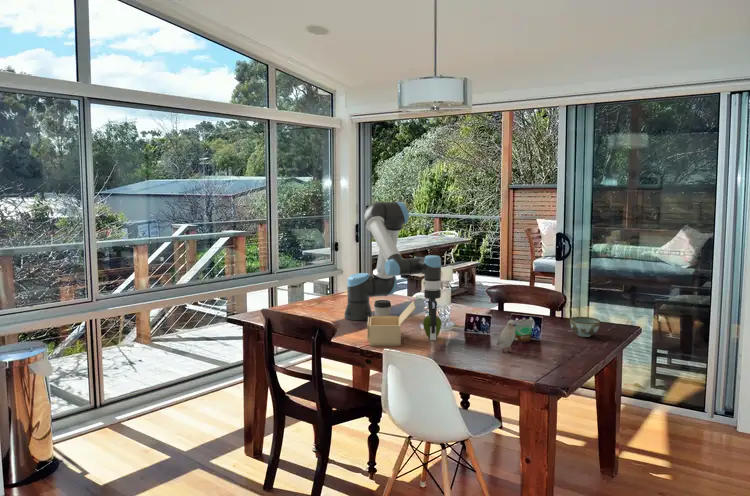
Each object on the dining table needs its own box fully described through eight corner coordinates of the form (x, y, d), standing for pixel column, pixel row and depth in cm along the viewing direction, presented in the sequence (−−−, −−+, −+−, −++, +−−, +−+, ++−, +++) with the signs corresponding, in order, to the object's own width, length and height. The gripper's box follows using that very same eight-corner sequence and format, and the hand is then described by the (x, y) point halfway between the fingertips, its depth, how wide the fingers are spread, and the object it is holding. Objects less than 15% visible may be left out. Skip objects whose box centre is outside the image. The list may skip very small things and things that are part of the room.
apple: (419, 337, 291) (419, 313, 289) (435, 336, 294) (435, 312, 293) (428, 342, 283) (428, 317, 282) (444, 340, 286) (445, 315, 285)
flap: (399, 316, 292) (413, 300, 292) (400, 316, 293) (414, 301, 292) (400, 324, 277) (415, 307, 276) (401, 324, 277) (416, 308, 276)
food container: (518, 344, 279) (518, 322, 278) (509, 340, 285) (509, 319, 284) (539, 340, 285) (539, 319, 284) (530, 337, 290) (530, 316, 289)
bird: (511, 357, 258) (512, 322, 256) (492, 349, 270) (493, 315, 269) (521, 356, 260) (522, 321, 258) (502, 348, 272) (503, 314, 271)
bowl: (568, 338, 289) (568, 321, 288) (569, 331, 301) (570, 315, 300) (599, 341, 284) (600, 323, 283) (599, 334, 296) (600, 317, 296)
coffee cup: (389, 334, 298) (389, 303, 296) (372, 333, 299) (372, 302, 298) (392, 330, 306) (392, 300, 304) (376, 329, 308) (375, 299, 306)
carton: (368, 335, 296) (368, 315, 294) (399, 335, 295) (399, 315, 294) (367, 346, 276) (367, 325, 275) (400, 346, 276) (400, 325, 275)
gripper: (422, 285, 296) (422, 331, 299) (426, 293, 275) (425, 343, 278) (438, 285, 296) (438, 331, 299) (442, 293, 275) (442, 343, 278)
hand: (432, 337), depth 288 cm, fingers closed on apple, 8 cm apart
